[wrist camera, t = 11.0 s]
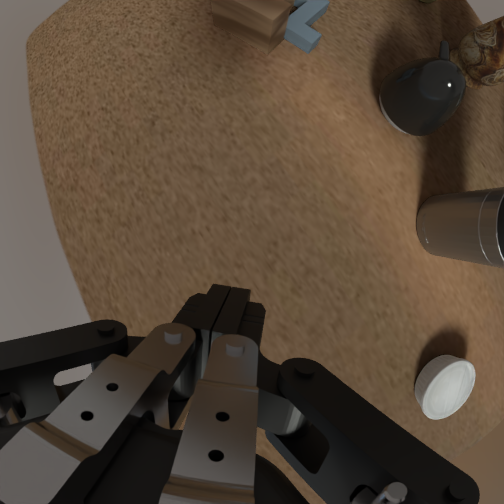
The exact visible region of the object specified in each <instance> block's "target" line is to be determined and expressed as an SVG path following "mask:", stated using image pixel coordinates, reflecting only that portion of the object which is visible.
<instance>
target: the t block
mask: <svg viewBox="0 0 504 504" xmlns="http://www.w3.org/2000/svg"><path fill="white" fill-rule="evenodd" d="M294 2H295V0H211V7H212V14H213V21H214V25H215V26H217V27H219V28H221V29H223V30H225V31H226V32H228V33H230V34H232V35H234V36H236V37H237V38H239V39H241V40H243V41H244V42H246V43H248V44H250V45H251V46H253V47H255V48H256V49H258V50H260V51H261V52H263V53H265V54H266V55H268V54H269V53H270V52H271V51H272V50H273V49H274V48H275V47H276V46H277V45H278V44H279V43H280V42H282V41H283V40H284V35H285V31H286V27H287V22H288V18H289V14H290V10H291V9H292V8H293V6H294Z"/></svg>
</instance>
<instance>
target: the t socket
mask: <svg viewBox="0 0 504 504" xmlns="http://www.w3.org/2000/svg"><path fill="white" fill-rule="evenodd" d="M329 3H330V2H329V1H327V0H295V2H294V6H296V7H297V8H298V9H297V10H296V11H295V12H293V13H292V14H291V15H290V16H289V18H288V22H287V27H286V31H285V35H284V39H286V40H288V41H289V42H291V43H292V44H294V45H295V46H297V47H299V48H300V49H302V50H303V51H305V52H306V53H308V54H309V53H310V52H311V51H312V50H313V49H314V48H315V47H316V46H317V44H318V42H319V40H320V37H321V34H320V33H318V32H317V31H315V30H314V29H312V28H311V27H309V26H311V25H312V24H313V23H314V22H315V21H316V20H317V19H318V18H320V17H321V16H322V15H323V14H324V13H325V12H326V10H327V8H328V5H329Z"/></svg>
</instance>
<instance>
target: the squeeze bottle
mask: <svg viewBox="0 0 504 504" xmlns="http://www.w3.org/2000/svg"><path fill="white" fill-rule="evenodd" d="M419 1H421V2H424V3H431V2H433V1H436V0H419Z"/></svg>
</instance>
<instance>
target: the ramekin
mask: <svg viewBox="0 0 504 504" xmlns="http://www.w3.org/2000/svg"><path fill="white" fill-rule="evenodd" d="M474 382H475V369H474V366H473V364H472V363H471V362H469V361H468V360H466V359H463V358H457V357H455V356H452V355H441V356H438V357H436V358H434V359H433V360H431V361H430V362H429V363H427V364H426V365H425V367H424V368H423V369H422V370H421V372H420V374H419V376H418V378H417V380H416V384H415V397H416V399H417V401H418V402H419V404H420V406H421V409H422V411H423V413H424V414H425V415H426V416H427V417H429V418H431V419H442V418H445V417H447V416H449V415H451V414H453V413H454V412H455V411H457V410H458V409H459V408H460V407H461V406H462V405H463V403H464V402H465V401H466V400H467V398H468V397H469V395H470V393H471V391H472V388H473V386H474Z"/></svg>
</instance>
